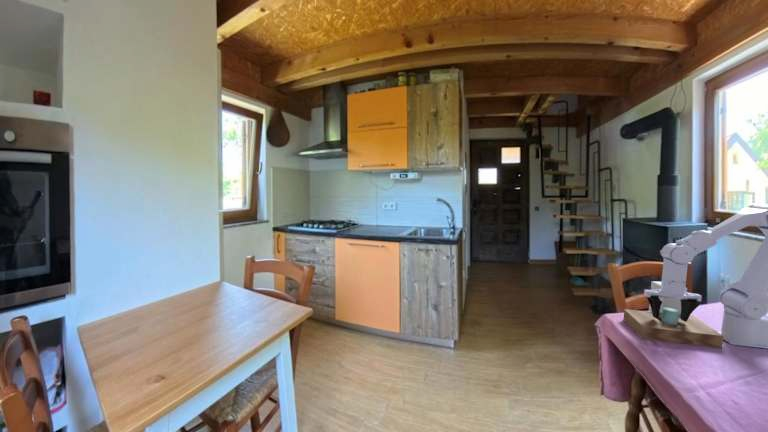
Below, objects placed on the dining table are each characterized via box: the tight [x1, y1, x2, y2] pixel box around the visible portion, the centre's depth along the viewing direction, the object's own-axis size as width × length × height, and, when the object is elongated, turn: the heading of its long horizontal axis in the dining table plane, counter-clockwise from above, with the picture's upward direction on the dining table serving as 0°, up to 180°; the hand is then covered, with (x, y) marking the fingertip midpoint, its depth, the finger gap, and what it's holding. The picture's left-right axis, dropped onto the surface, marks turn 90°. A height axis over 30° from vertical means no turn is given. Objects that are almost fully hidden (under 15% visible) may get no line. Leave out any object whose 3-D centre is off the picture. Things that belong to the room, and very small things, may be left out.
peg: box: [661, 308, 679, 325], centre depth 101 cm, size 4×4×8 cm
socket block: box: [623, 308, 724, 349], centre depth 101 cm, size 20×14×4 cm
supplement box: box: [648, 280, 688, 315], centre depth 112 cm, size 7×7×13 cm
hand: (669, 318), depth 101 cm, fingers open, 7 cm apart
